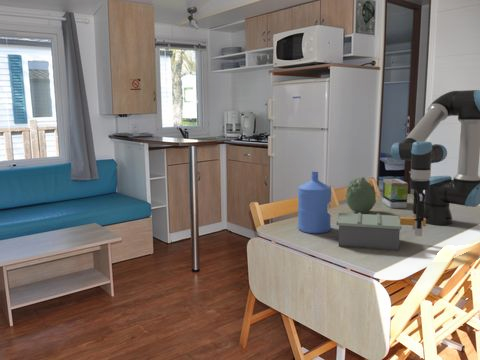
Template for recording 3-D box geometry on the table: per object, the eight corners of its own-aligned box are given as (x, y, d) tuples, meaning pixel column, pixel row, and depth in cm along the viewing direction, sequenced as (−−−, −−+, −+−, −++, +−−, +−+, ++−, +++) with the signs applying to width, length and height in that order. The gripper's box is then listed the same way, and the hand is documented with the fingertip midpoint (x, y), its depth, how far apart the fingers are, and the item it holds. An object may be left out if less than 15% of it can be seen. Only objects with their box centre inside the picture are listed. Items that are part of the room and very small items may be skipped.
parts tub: (396, 239, 190) (397, 219, 188) (398, 250, 175) (399, 229, 173) (340, 235, 197) (341, 216, 195) (338, 246, 182) (339, 225, 180)
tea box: (407, 208, 245) (408, 182, 242) (389, 208, 245) (391, 183, 243) (398, 202, 260) (399, 178, 257) (381, 202, 260) (382, 178, 257)
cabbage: (379, 211, 239) (381, 175, 236) (369, 218, 224) (370, 181, 220) (352, 207, 248) (353, 173, 245) (340, 214, 233) (341, 178, 229)
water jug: (309, 235, 197) (309, 175, 192) (291, 227, 211) (292, 171, 206) (337, 231, 203) (338, 173, 198) (318, 223, 217) (319, 168, 212)
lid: (422, 219, 186) (423, 213, 185) (427, 231, 170) (428, 224, 169) (338, 215, 196) (339, 209, 195) (336, 225, 180) (336, 219, 179)
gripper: (407, 174, 187) (405, 224, 190) (412, 183, 166) (409, 239, 170) (426, 175, 184) (423, 225, 188) (433, 184, 164) (430, 240, 168)
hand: (416, 232), depth 179 cm, fingers open, 9 cm apart
